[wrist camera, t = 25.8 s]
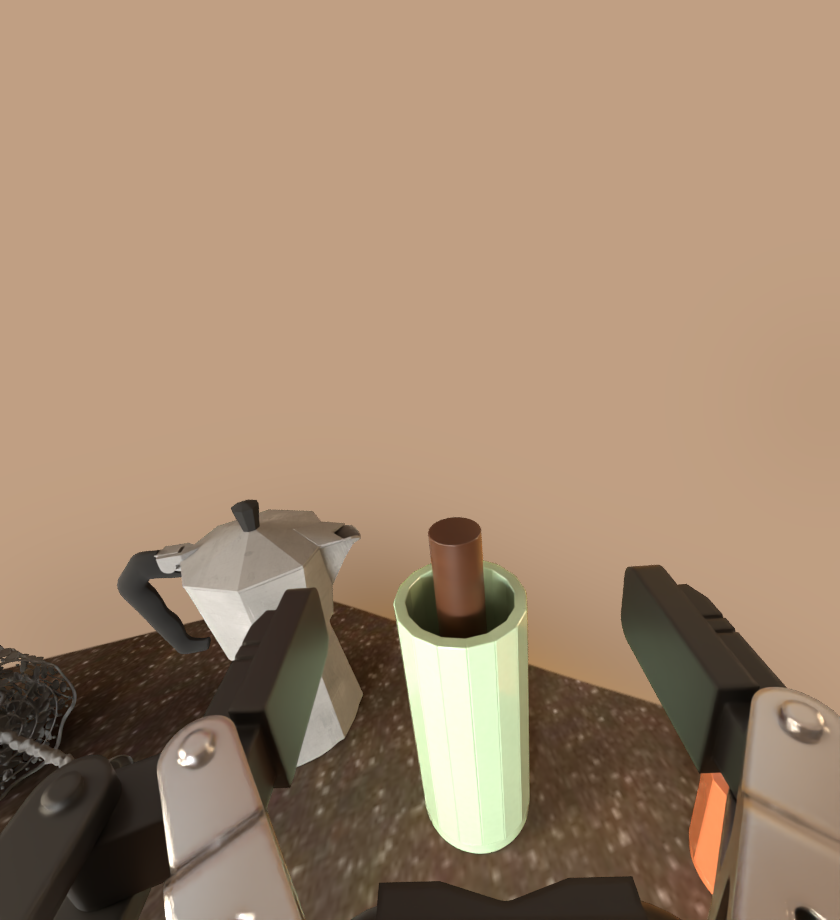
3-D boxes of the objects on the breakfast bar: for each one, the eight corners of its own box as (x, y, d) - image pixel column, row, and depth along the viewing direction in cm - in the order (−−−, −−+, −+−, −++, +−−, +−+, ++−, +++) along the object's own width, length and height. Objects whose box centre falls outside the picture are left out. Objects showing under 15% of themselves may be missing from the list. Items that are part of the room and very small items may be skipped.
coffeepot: (384, 646, 38) (351, 459, 31) (393, 751, 30) (350, 523, 23) (205, 680, 37) (130, 491, 30) (159, 800, 28) (38, 573, 21)
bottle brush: (489, 754, 28) (474, 510, 21) (506, 801, 25) (494, 540, 19) (447, 767, 27) (418, 521, 21) (460, 815, 25) (431, 553, 18)
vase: (505, 729, 30) (497, 548, 24) (548, 834, 24) (551, 627, 19) (415, 754, 29) (386, 571, 24) (438, 869, 23) (406, 663, 18)
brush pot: (742, 803, 25) (766, 718, 22) (832, 913, 20) (876, 823, 18) (667, 828, 24) (683, 743, 21) (745, 948, 20) (777, 859, 17)
